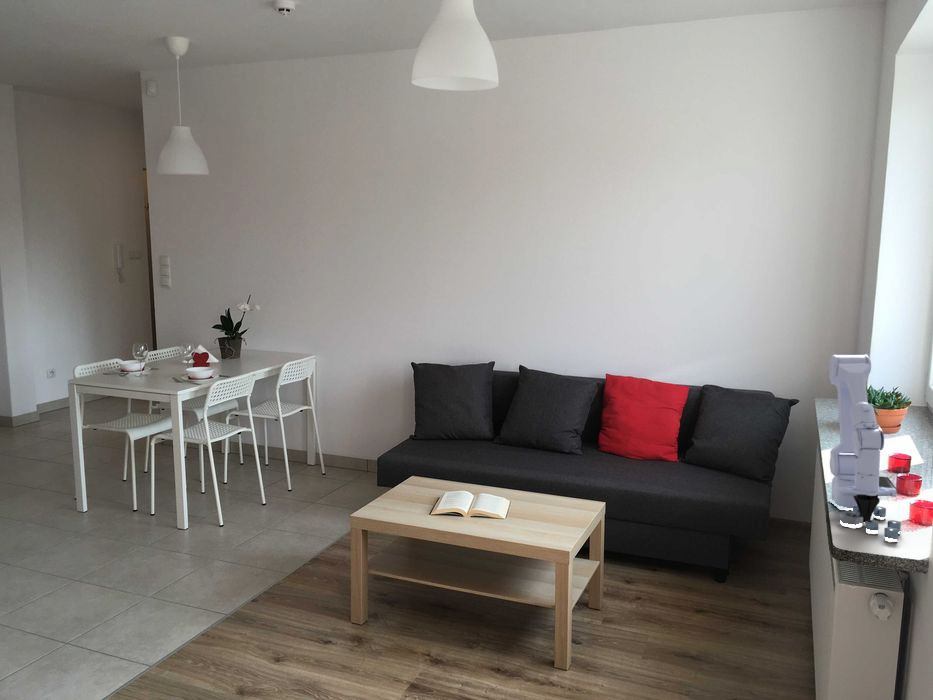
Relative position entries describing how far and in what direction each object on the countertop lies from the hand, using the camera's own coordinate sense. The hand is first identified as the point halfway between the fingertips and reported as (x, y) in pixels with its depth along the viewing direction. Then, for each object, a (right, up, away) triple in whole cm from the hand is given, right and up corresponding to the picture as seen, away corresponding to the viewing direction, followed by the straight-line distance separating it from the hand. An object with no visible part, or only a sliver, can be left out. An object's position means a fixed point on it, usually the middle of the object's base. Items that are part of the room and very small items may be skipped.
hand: (865, 522), depth 204 cm
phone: (+22, +3, +35) cm, 41 cm away
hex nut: (-4, -1, +1) cm, 4 cm away
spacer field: (+2, -1, -3) cm, 4 cm away
